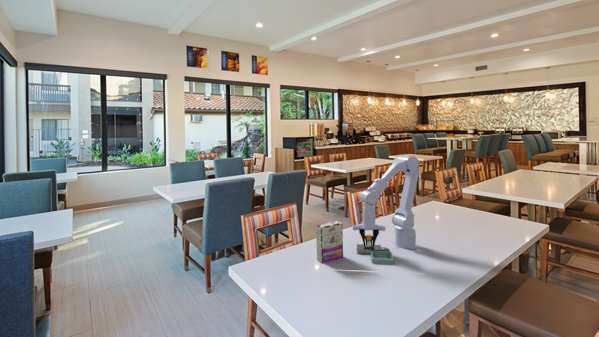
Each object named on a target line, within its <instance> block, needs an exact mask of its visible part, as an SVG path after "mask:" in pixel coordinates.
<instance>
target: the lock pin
mask: <svg viewBox="0 0 599 337" xmlns="http://www.w3.org/2000/svg"><path fill="white" fill-rule="evenodd" d="M365 245H366V249H372V245H373V234H372V235H371V234H365Z"/></svg>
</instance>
